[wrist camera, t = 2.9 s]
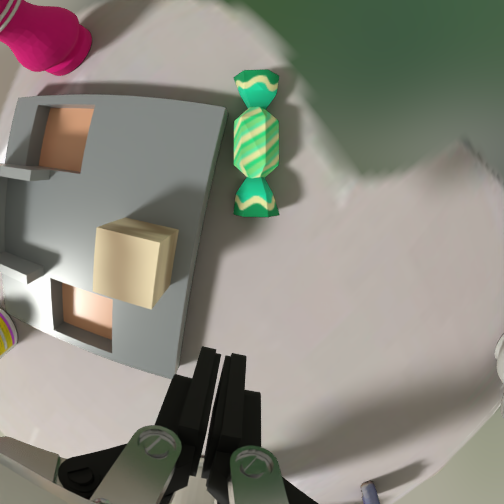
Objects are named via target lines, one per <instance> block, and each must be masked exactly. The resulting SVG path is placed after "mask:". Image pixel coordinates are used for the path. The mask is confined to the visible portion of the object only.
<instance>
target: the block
mask: <svg viewBox="0 0 504 504" xmlns="http://www.w3.org/2000/svg"><path fill="white" fill-rule="evenodd" d="M178 233H179V230H178V229H174V228H170V227H165V226H161V225H156V224H152V223H148V222H143V221H139V220H134V219H130V218H126V217H125V218H122V219H119V220H116V221H113V222H110V223H107V224H104V225H102V226H99V227H97V228H96V239H95V252H94V268H93V292H96V293H99V294H102V295H105V296H108V297H111V298H114V299H118V300H121V301H124V302H127V303H131V304H134V305H137V306H141V307H144V308H148V309H151V310H152V308H153V307H154V306H155V304H156V303H157V302H158V300H159V299H160V298H161V296H162V295H163V294H164V293H165V291H166V290H167V289H168V287H169V286H170V282H171V275H172V269H173V262H174V256H175V250H176V244H177V238H178Z"/></svg>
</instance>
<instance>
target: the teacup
mask: <svg viewBox="0 0 504 504" xmlns="http://www.w3.org/2000/svg"><path fill="white" fill-rule="evenodd" d="M495 358H496V359H497V373H498V375H499V378H500V379H501V381H502V383H503V384H504V334H503V335H502V337H501V338H500V340H499V341H498V343H497V346H496V349H495ZM501 414H502V416H503V418H504V395H503V398H502V401H501Z"/></svg>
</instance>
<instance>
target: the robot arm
mask: <svg viewBox="0 0 504 504" xmlns="http://www.w3.org/2000/svg"><path fill="white" fill-rule="evenodd" d="M220 358H221V354H217V353H216V349H212V348H208V347H203V346H202V348H201V351H200V355H199V358H198V361H197V365H196V368H195V371H194V375H193V378H188V377H184V376H181V375H177V374H174V376H173V378H172V381H171V383H170V386H169V389H168V391H167V394H166V396H165V399H164V402H163V404H162V407H161V410H160V412H159V415H158V418H157V420H156V423H155V425H150V426H145V427H142V428H140V429H138V430H137V431H136V432H135V433H134V435H133V436H132V438H131V439H130V441H129V442H128V443H127V444H124V445H121V446H117V447H113V448H110V449H106V450H102V451H98V452H94V453H90V454H85V455H81V456H76V457H72V458H69V459H65V458H62V457H60V456H59V454H56V453H53V452H49V451H46V450H43V449H40V448H37V447H34V446H32V445H29V444H26V443H24V442H21V441H19V440H16V439H14V438H11V437H6V436H5V437H0V504H318V503H317V502H315V501H314V500H313V499H311V498H310V497H308V496H307V495H306V494H304V493H303V492H301V491H300V490H299V489H297V488H296V487H295V486H294V485H292V484H291V483H290V482H288V481H287V480H286V479H285V478H283V477H282V475H281V471H280V467H279V463H278V461H277V459H276V457H275V456H274V455H273V454H272V453H271V452H269V451H268V450H266V449H264V448H261V394H260V392H254V391H249V390H244V389H245V373H246V356H244V355H239V354H234V353H232V355H231V357H230V356H225V360H224V364H223V368H222V372H221V377H220V381H219V385H218V389H217V393H216V397H215V402H214V406H213V411H212V417H211V422H210V428H209V433H208V439H207V445H206V451H205V456H204V458H201V453H202V449H203V445H204V440H205V436H206V431H207V427H208V421H209V416H210V411H211V405H212V400H213V395H214V389H215V384H216V379H217V373H218V368H219V363H220Z"/></svg>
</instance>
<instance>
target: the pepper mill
mask: <svg viewBox="0 0 504 504" xmlns="http://www.w3.org/2000/svg"><path fill="white" fill-rule="evenodd" d="M0 41H1V42H3V43H5V44H6V45H8V46H9V47H10V49H11V50H12V51H13V53H14V54H15V56H16V58H17V60H18V61H19V62H20V63H21V64H22V65H23V66H24V67H26V68H27V69H29V70H31V71H35V72H40V71H44V70H45V71H47V72H49V73H51V74H54V75H57V76H61V75H65V74H67V73H70V72H71V71H73V70H74V69H75V68H76V67H78V66H79V65H80V64H81V63H82V61H83V60H84V59H85V57H86V56H87V54H88V52H89V50H90V47H91V43H92V37H91V33H90V32H89V31H88V30H87V29H86V28H84V27H83V26H82V25H80V24H79V21H78V18H77V16H76V15H75V14H74V13H72V12H71V11H69V10H67V9H64V8H60V7H50V6H37V5H32V4H30V3H28V2H26V1H24V0H0Z"/></svg>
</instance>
